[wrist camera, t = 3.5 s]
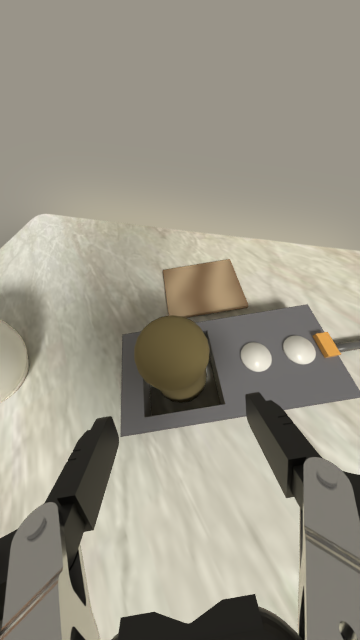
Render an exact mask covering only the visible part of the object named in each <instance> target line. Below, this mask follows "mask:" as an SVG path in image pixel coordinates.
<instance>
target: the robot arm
mask: <svg viewBox="0 0 360 640" xmlns="http://www.w3.org/2000/svg"><path fill="white" fill-rule="evenodd" d="M245 399H246V416H247V420H248V423H249V425H250V427H251V429H252V431H253V433H254V435H255V437H256V439H257V441H258V443H259V445H260V447H261V449H262V451H263V453H264V455H265V457H266V459H267V461H268V463H269V465H270V467H271V469H272V471H273V473H274V475H275V477H276V479H277V481H278V483H279V485H280V487H281V489H282V491H283V493H284V495H285V497H286V498H290V497H295V499H296V501H297V503H298V505H299V506H300V534H299V590H298V634H297V633H296V631H294V630H293V629H292V628H291V627H290V626H289V625H288V624H287V623H286V622H285V621H283V620H282V619H281V618H279V617H278V616H277V615H275V614H274V613H272V612H270V611H268V610H266V609H264V608H261V607H258V604H257V600H256V596H255V594H253V595H247V596H241V597H236V598H230V599H224V600H221V601H220V602H219V603H217V604H216V605H215V606H213V607H212V608H211V609H209V610H208V611H207V612H205V613H204V614H203V615H201V616H200V617H199V618H197V619H196V620H195V621H193V622H192V623H189V624H187V623H183V622H180V621H178V620H175V619H172V618H169V617H167V616H164V615H161V614H158V613H156V612H150V613H145V614H139V615H133V616H128V617H122V618H121V620H120V627H119V633H118V634H117V635H116V636H115V637H114V638H113V639H112V640H360V475H357V474H351V473H347V472H344V471H342V470H340V469H339V468H338V467H337V466H336V465H334V464H333V463H331V462H329V461H327V460H325V459H323V458H322V457H321V456H320V455H319V454H318V453H317V451H316V450H315V449H314V448H313V446H312V445H311V444H310V443H309V441H308V440H307V439H306V438H305V436H304V435H303V434H302V433H301V431H300V430H299V429H298V428H297V426H296V425H295V424H294V423H293V421H292V420H291V419H290V418H289V417H288V416H287V414H286V413H285V411H284V410H283V409H282V408H281V406H279V405H278V404H276V403H275V402H273V401H272V400H268V401H266V400H265V399H264V397H263V396H262V395H261V393H260V392H254V393H248V394H246V395H245ZM118 445H119V437H118V433H117V430H116V427H115V424H114V422H113V419H112V417H111V416H109V417H103V418H98V419H96V420H95V422H94V424H93V426H92V428H91V430H87V431H86V432H85V433H84V435H83V436H82V437H81V438H80V439H79V440H78V442H77V444H76V446H75V448H74V450H73V453H71V455H70V457H69V459H68V462H67V463H66V464H65V466H64V468H63V470H62V472H61V474H60V476H59V477H58V479H57V481H56V483H55V485H54V487H53V489H52V490H51V492H50V494H49V496H48V498H47V500H46V501H45V503H44V504H43V505H41V506H39V507H38V508H36V509H35V510H34V511H33V512H32V513H31V514H30V515H29V516H28V517H27V518H26V519H25V520H24V521H23V523H22V524H21V525H20V527H19V528H18V529H17V530H15V531H13V532H11V533H10V534H8V535H6V536H4V537H2V538H0V640H100V636H99V632H98V628H97V625H96V622H95V619H94V616H93V613H92V609H91V604H90V598H89V592H88V586H87V580H86V574H85V568H84V562H83V556H82V550H81V546H80V542H81V539H82V536H83V533H84V532H85V531H91V530H94V527H95V524H96V520H97V517H98V514H99V510H100V507H101V503H102V500H103V497H104V493H105V490H106V486H107V483H108V480H109V476H110V473H111V470H112V466H113V463H114V459H115V456H116V453H117V449H118Z"/></svg>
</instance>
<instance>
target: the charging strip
mask: <svg viewBox="0 0 360 640" xmlns="http://www.w3.org/2000/svg"><path fill="white" fill-rule="evenodd" d="M196 324H197V325H198V326H199V327H200V328H201V330H202V331H203V333H204V334H205V336H206V338H207V340H208V345H209V349H210V353H209V356H210V360H211V365H212V369H213V373H214V378H215V382H216V386H217V391H218V395H219V399H220V404H221V405H216V406H210V407H204V408H198V409H192V410H186V411H180V412H174V413H168V414H161V415H155V416H152V414H151V396H150V384H148V383H147V382H146V381H145V380H144V379H143V377H142V376H141V375H140V374H139V372H138V369H137V366H136V363H135V360H134V347H135V344H136V341H137V338H138V336H139V335H140V333H141V332H135V333H129V334H123V336H122V390H121V437H123V436H129V435H135V434H141V433H147V432H154V431H160V430H166V429H172V428H178V427H184V426H190V425H196V424H202V423H208V422H214V421H220V420H226V419H232V418H238V417H245V416H246V399H245V395H246V394H248V393H254V392H260V393H261V395H262V396H263V397H264V399H265V400H266V401H268V400H272V401H273V402H275V403H276V404H278V405H279V406H281V408H282V409H283V410H287V409H293V408H299V407H305V406H311V405H317V404H323V403H329V402H336V401H342V400H348V399H354V398H360V390H359V389H358V387H357V386H356V384H355V382H354V381H353V379H352V377H351V376H350V374H349V372H348V371H347V369H346V367H345V366H344V364H343V362H342V361H341V359H340V357H339V356H338V355H341V353H340V352H345V351H351V350H357V349H360V340H356V341H350V342H344V343H338V344H335V343H334V342H333V340H332V339H331V337H330V335H329V334H328V332H324V331H323V329H322V327H321V326H320V324H319V323H318V321H317V319H316V318H315V316H314V314H313V313H312V311H311V309H310V308H309V306H308V304H307V305H301V306H295V307H289V308H282V309H276V310H270V311H264V312H258V313H252V314H246V315H240V316H233V317H227V318H221V319H215V320H209V321H203V322H197V323H196Z"/></svg>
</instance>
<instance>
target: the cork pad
mask: <svg viewBox="0 0 360 640" xmlns="http://www.w3.org/2000/svg"><path fill="white" fill-rule="evenodd" d="M163 275H164V283H165V290H166V298H167V306H168V313H169V316H171V315H174V316H182V317H185V318H187V317H193V316H199V315H205V314H211V313H217V312H223V311H229V310H236V309H242V308H247V307H248V303H247V301H246V298H245V296H244V293H243V291H242V288H241V286H240V283H239V281H238V278H237V276H236V273H235V271H234V268H233V266H232V263H231V261H230V259H228V260H222V261H215V262H209V263H203V264H197V265H191V266H185V267H178V268H172V269H166V270H163Z"/></svg>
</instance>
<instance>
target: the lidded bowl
mask: <svg viewBox="0 0 360 640" xmlns="http://www.w3.org/2000/svg"><path fill="white" fill-rule="evenodd" d="M28 369H29V359H28V354H27V348H26V346H25V343H24V341H23V339H22V338H21V336H20V335H19V334H18V333H17V332H16V330H14V329H13V328H12V327H11V326H9V325H8V324H7V323H5V322H4V321H2V320H1V319H0V403H2V402H3V401H5V400H6V399H8V398H9V397H10V396H11V395H13V394H14V393H15V392H16V391H17V390H18V388H19V387H20V386H21V384H22V383H23V381H24V380H25V378H26V375H27V372H28Z"/></svg>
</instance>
